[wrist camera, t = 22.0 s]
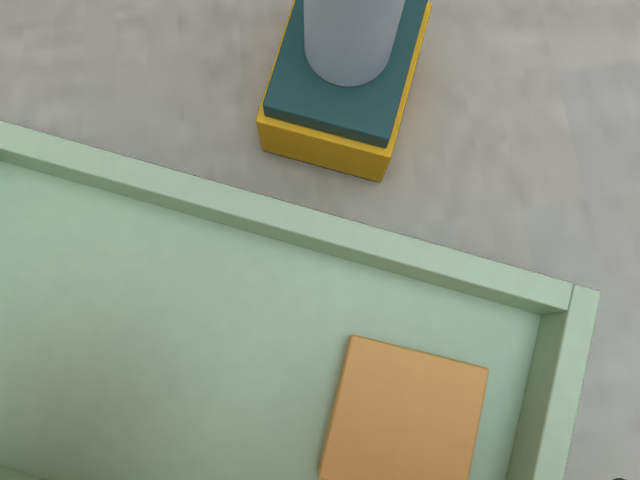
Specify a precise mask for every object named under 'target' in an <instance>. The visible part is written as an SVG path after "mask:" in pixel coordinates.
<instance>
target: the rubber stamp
mask: <svg viewBox="0 0 640 480" xmlns="http://www.w3.org/2000/svg"><path fill="white" fill-rule="evenodd" d="M427 1H428V0H294V1H293V4H292V7H291V10H290V13H289V17H288V20H287V23H286V26H285V29H284V32H283V36H282V39H281V42H280V45H279V48H278V52H277V55H276V58H275V61H274V64H273V67H272V71H271V74H270V77H269V80H268V83H267V86H266V90H265V93H264V96H263V99H262V102H261V105H260V109H259V112H258V115H257V118H256V123H257V127H258V132H259V136H260V140H261V145H262V149H263V150H264V151H267V152H271V153H274V154H278V155H282V156H285V157H289V158H293V159H296V160H300V161H304V162H307V163H311V164H315V165H318V166H322V167H326V168H329V169H333V170H337V171H340V172H344V173H348V174H351V175H355V176H359V177H362V178H366V179H369V180H373V181H377V182H381V181H382V178H383V176H384V174H385V171H386V169H387V166H388V164H389V162H390V159H391V157H392V153H393V149H394V146H395V142H396V138H397V135H398V131H399V127H400V123H401V120H402V116H403V112H404V108H405V105H406V101H407V97H408V94H409V90H410V86H411V82H412V79H413V75H414V71H415V67H416V64H417V60H418V56H419V53H420V49H421V45H422V41H423V38H424V34H425V30H426V27H427V23H428V19H429V15H430V12H431V8H432V3H429V2H427Z"/></svg>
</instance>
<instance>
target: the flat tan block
mask: <svg viewBox="0 0 640 480" xmlns="http://www.w3.org/2000/svg"><path fill="white" fill-rule="evenodd" d="M488 375H489V369H488V368H486V367H482V366H478V365H474V364H470V363H466V362H462V361H458V360H454V359H450V358H446V357H442V356H438V355H434V354H430V353H426V352H422V351H418V350H414V349H410V348H406V347H402V346H398V345H394V344H390V343H386V342H382V341H378V340H374V339H370V338H366V337H362V336H358V335H351V336H349V338H348V342H347V346H346V351H345V355H344V359H343V363H342V367H341V372H340V376H339V380H338V384H337V389H336V393H335V397H334V401H333V406H332V410H331V414H330V418H329V423H328V427H327V431H326V435H325V439H324V444H323V448H322V452H321V456H320V461H319V465H318V477H319V479H321V480H468V479H469V474H470V469H471V464H472V458H473V453H474V448H475V443H476V438H477V432H478V427H479V422H480V417H481V412H482V406H483V401H484V396H485V391H486V385H487V380H488Z"/></svg>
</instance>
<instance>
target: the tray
mask: <svg viewBox="0 0 640 480" xmlns="http://www.w3.org/2000/svg"><path fill="white" fill-rule="evenodd" d="M600 296H601V292H600V291H599V290H595V289H592V288H588V287H585V286H581V285H578V284H573V283H571V282H568V281H564V280H561V279H557V278H554V277H550V276H546V275H543V274H539V273H536V272H532V271H529V270H525V269H522V268H518V267H515V266H511V265H508V264H504V263H501V262H497V261H494V260H490V259H487V258H483V257H480V256H476V255H473V254H469V253H466V252H462V251H458V250H455V249H451V248H448V247H444V246H441V245H437V244H434V243H430V242H427V241H423V240H420V239H416V238H413V237H409V236H406V235H402V234H399V233H395V232H392V231H388V230H385V229H381V228H378V227H374V226H370V225H367V224H363V223H360V222H356V221H353V220H349V219H346V218H342V217H339V216H335V215H332V214H328V213H325V212H321V211H318V210H314V209H311V208H307V207H304V206H300V205H297V204H293V203H290V202H286V201H282V200H279V199H275V198H272V197H268V196H265V195H261V194H258V193H254V192H251V191H247V190H244V189H240V188H237V187H233V186H230V185H226V184H223V183H219V182H216V181H212V180H209V179H205V178H202V177H198V176H194V175H191V174H187V173H184V172H180V171H177V170H173V169H170V168H166V167H163V166H159V165H156V164H152V163H149V162H145V161H142V160H138V159H135V158H131V157H128V156H124V155H121V154H117V153H114V152H110V151H106V150H103V149H99V148H96V147H92V146H89V145H85V144H82V143H78V142H75V141H71V140H68V139H64V138H61V137H57V136H54V135H50V134H47V133H43V132H40V131H36V130H33V129H29V128H26V127H22V126H18V125H15V124H11V123H8V122H4V121H1V120H0V480H321V479H319V477H318V465H319V461H320V456H321V452H322V448H323V444H324V439H325V435H326V431H327V427H328V423H329V418H330V414H331V410H332V406H333V401H334V397H335V393H336V389H337V384H338V380H339V376H340V372H341V367H342V363H343V359H344V355H345V351H346V346H347V342H348V338H349V336H351V335H358V336H362V337H366V338H370V339H374V340H378V341H382V342H386V343H390V344H394V345H398V346H402V347H406V348H410V349H414V350H418V351H422V352H426V353H430V354H434V355H438V356H442V357H446V358H450V359H454V360H458V361H462V362H466V363H470V364H474V365H478V366H482V367H486V368H488V369H489V375H488V380H487V385H486V391H485V396H484V401H483V406H482V412H481V417H480V422H479V427H478V432H477V438H476V443H475V448H474V453H473V458H472V464H471V469H470V474H469V479H468V480H563V479H564V474H565V470H566V465H567V460H568V455H569V450H570V445H571V440H572V435H573V430H574V425H575V420H576V415H577V410H578V405H579V400H580V395H581V390H582V385H583V380H584V375H585V370H586V366H587V361H588V356H589V351H590V346H591V341H592V336H593V331H594V326H595V321H596V316H597V311H598V306H599V301H600Z"/></svg>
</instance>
